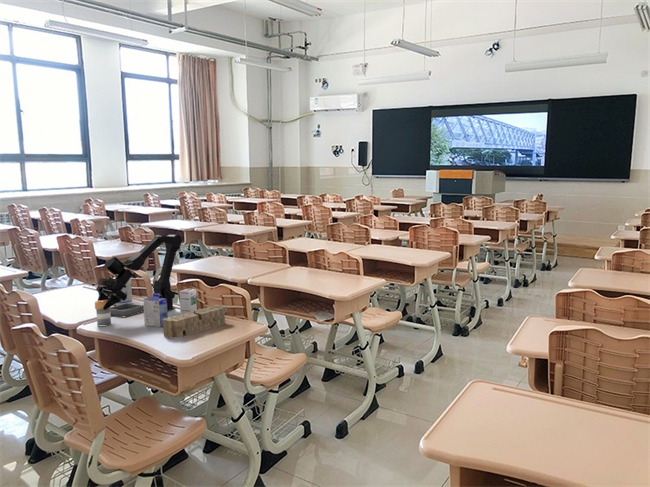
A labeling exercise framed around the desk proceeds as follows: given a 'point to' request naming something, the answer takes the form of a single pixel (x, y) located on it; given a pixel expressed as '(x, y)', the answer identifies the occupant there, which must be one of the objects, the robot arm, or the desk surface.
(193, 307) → the syrup box
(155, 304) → the ink cartridge box
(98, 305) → the snap cap
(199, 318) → the block tower
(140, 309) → the lid tray
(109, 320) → the cylinder
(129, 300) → the supplement tub
